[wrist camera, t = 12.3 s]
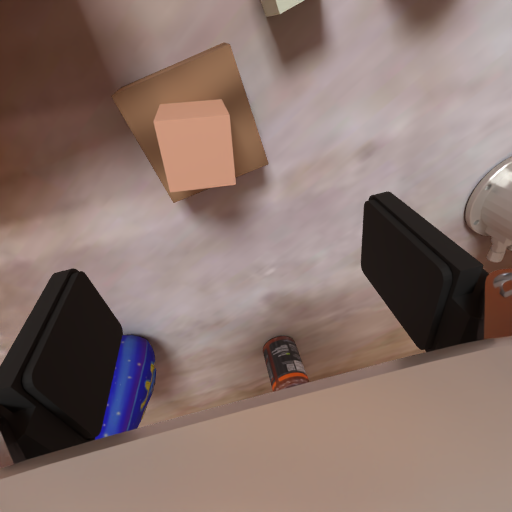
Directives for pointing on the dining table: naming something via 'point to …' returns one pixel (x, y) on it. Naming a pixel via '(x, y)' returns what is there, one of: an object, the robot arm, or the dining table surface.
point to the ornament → (129, 386)
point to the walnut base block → (189, 90)
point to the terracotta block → (195, 144)
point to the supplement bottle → (284, 363)
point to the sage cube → (277, 6)
